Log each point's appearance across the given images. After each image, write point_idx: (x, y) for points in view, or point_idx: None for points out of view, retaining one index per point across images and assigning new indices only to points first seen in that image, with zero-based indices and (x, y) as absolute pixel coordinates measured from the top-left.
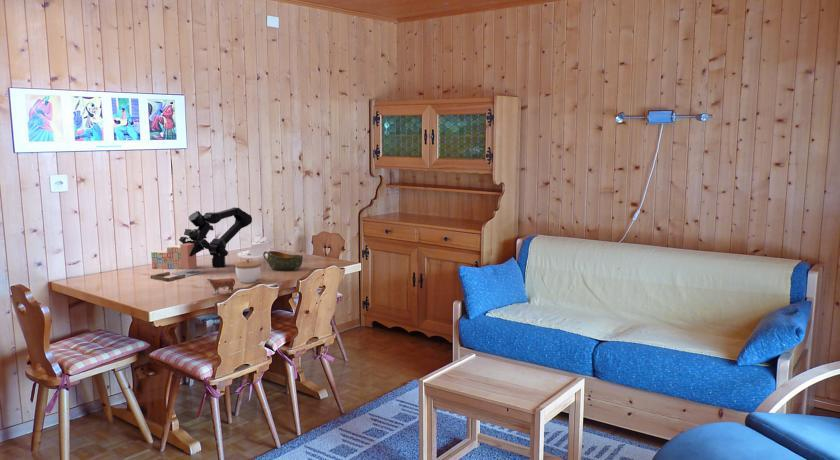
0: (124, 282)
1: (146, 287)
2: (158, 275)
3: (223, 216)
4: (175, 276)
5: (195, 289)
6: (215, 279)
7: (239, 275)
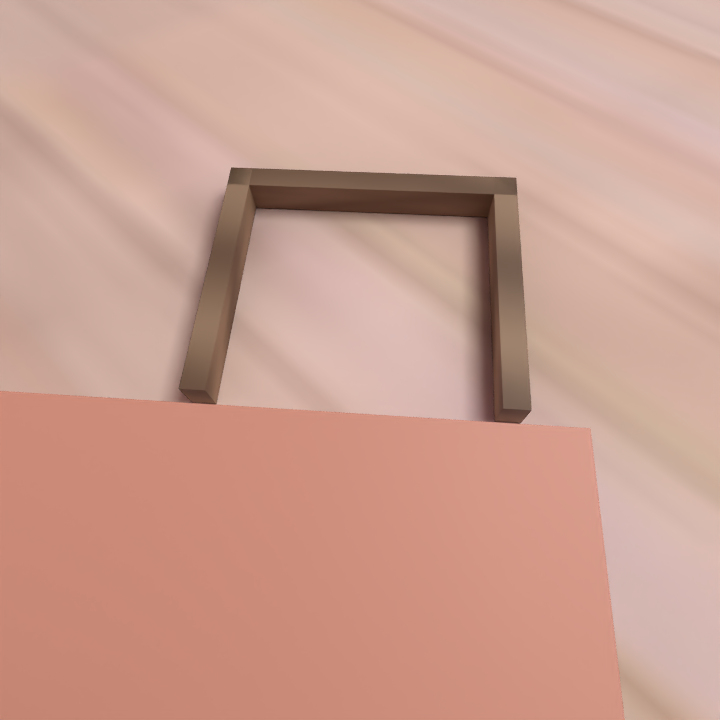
0: (560, 32)
1: (246, 12)
2: (494, 258)
3: None
4: (219, 261)
5: None
6: None
7: None
